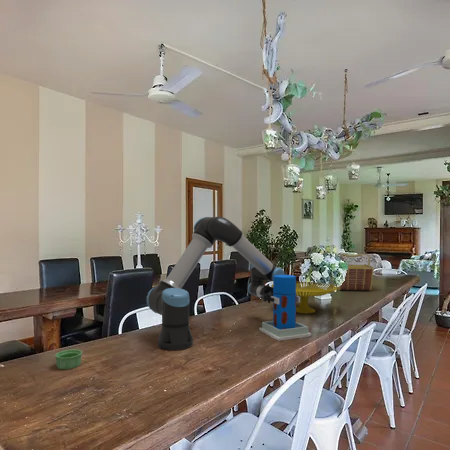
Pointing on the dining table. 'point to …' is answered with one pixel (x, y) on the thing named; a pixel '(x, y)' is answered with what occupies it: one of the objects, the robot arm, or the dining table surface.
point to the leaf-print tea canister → (284, 301)
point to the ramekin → (68, 359)
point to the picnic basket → (358, 276)
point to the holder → (285, 331)
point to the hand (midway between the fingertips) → (289, 300)
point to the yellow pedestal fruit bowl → (307, 292)
